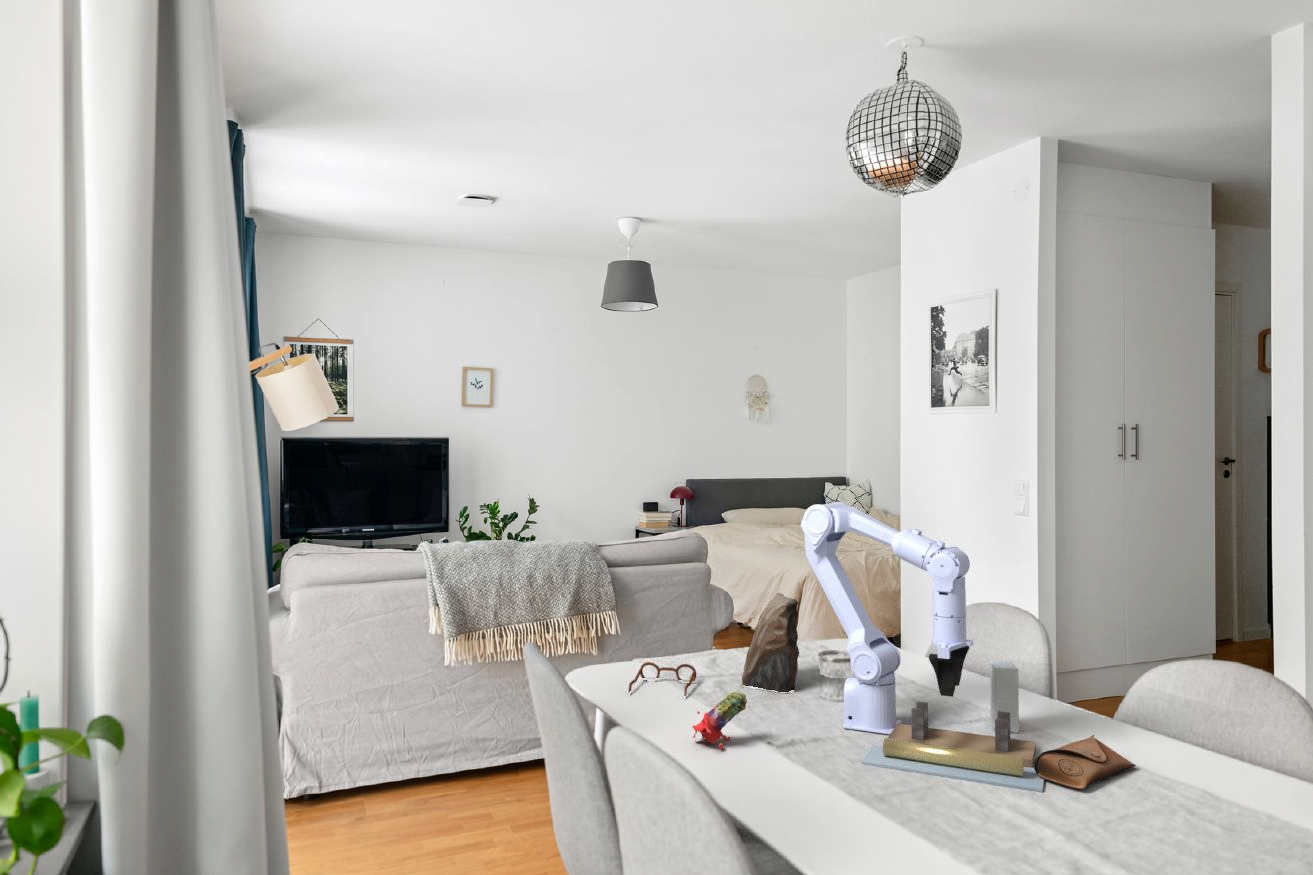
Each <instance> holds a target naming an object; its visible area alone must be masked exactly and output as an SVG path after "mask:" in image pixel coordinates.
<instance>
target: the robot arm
mask: <svg viewBox="0 0 1313 875" xmlns="http://www.w3.org/2000/svg"><path fill="white" fill-rule="evenodd" d="M800 528H801V529H802V531H803V534H804V545H805V546H804V547H805V548H804V549H805V556H806V558H807V560H808V562H809V565H810V566H811V568H812V571H813V572H814V575H815V576H816V578H817V580H818V582H819V584H820V585H821V588H822V589H823V591H824V593H825V595H826V597H827V599H828V601H829V603H830V605H831V607H832V609H833V611H834V613H835V615H836V617H837V619H838V620H839V623H840V625H841V627H842V629H843V630H844V632H845V634H846V636H847V641H846V642H847V643H846V648H845V650H846V652H847V654H848V656H849V660H850V661H849V662H850V668H851V671H852V673H853V675H854V676H855V677H850V676H849V677H847V678H846V680H845V683H844V688H843V725H842V728H843V729H847V730H854V731H855V730H856V731H862V732H863V731H864V732H869V733H876V734H885V735H890V734H891V732H892V731H893V729H894V728H895V726H896V725H897V724H902V721H901V720H899V719H897V718H896V717H897V714H896V713H897V712H896V711H897V709H896V708H897V707H896V706H897V704H896V702H897V701H896V697H897V696H896V694H897V693H896V676H895V675H896V674H895V672H896V671H897V670H898V669H899V668H900V665H901V655H900V651H899V649H898V648H897V647H896V646H895V645H894V644H893V643H892V642H890V641H889V639H888V638H887V637H886V635H885V633H884V632H883V631H881V630H880V629H879V628H877V627H876V626H875V625H874V624H873V622H872V620H871V618H870V617H869V615H868V612H867V610H866V609H865V606H864V605H863V604H862V602H861V599H860V598H859V595H858V594H857V592H856V589H854V586H853V585H852V584H853V583H852V582H851V581H850V578H849V577H848V575H847V573H846V571H845V570H844V569H845V568H844V566H842V564H841V561H840V560H839V558H838V556H837V550H838V547H839V544H840V541H841V540H842V539H843V538H844V537H845V535H846V534H847V533H848V532H850V533H851V532H856V533H858V534H861V535H863V536H865V537H867V538H870V539H872V540H874V541H877V542H879V543H882V544H883V545H886V546H888V547H890V548H892V551H893V553H894V556H896V557H897V558H899V559H900V560H902V561H904V562H906V563H909V564H911V565H913V566H915V567H917V568H919V569H921V570H923V571H925V572H927V573H928V575H929V577H930V578H931V579H932V638H931V643H932V644H933V645H934V647H935V648H936V649H937V653H930V654H929V655H928V660H929V663H930V664H931V666H932V668H933V670H934V672H935V677H936V681H937V685H938V690H939V695H940V696H942V697H951V698H953V697H954V694H955V690H956V687H959V686H960V682H961V679H962V673H963V667H964V662H965V660H966V657H967V654H968V652H969V650H970V647H972V646H973V645H974V640H972V639H967V595H966V592H967V591H966V575H967V573H968V572H969V570H970V566H971V564H970V559H969V557H968V554H967V553H966V552H965V551H964V550H963V549H960V547H958V546H956V545H953V546H948V547H946V543H945V541H944V542H943V541H941V540H939V541H936V540H934V539H932V538H929V537H928V536H926V535H925V536H924V535H922V533H923V531H922V530H920V529H917V528H914V529H910V528H908V529H904V530H902V531H899V530H897V529H895V528H893V527H891V526H890V525H888V524H886V523H884V522H882V521H880V520H878V519H877V518H874V517H872V516H870V515H869V514H867V513H865V512H863V511H861V510H860V509H857V508H856V507H854V506H851V505H847V504H845V503H843V502H839V501H837V502H832V503H826V504H819V503H818V504H812V505H811V506H809V507H808V508H806V510H805V512H804V514H803V517H802V520H801V523H800Z"/></svg>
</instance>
